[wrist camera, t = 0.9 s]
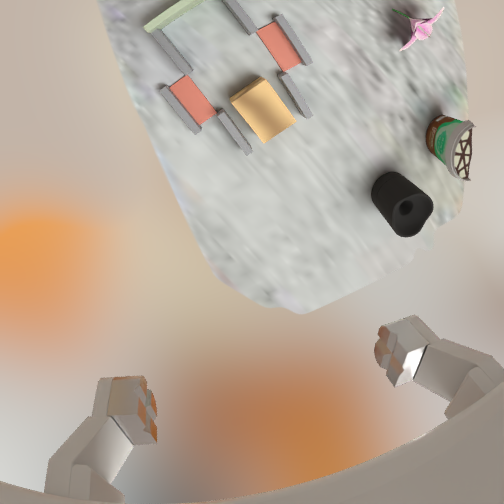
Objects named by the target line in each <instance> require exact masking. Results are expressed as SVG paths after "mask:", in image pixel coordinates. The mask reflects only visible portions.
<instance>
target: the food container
mask: <svg viewBox="0 0 504 504" xmlns="http://www.w3.org/2000/svg"><path fill="white" fill-rule="evenodd" d="M473 127H476V126H474V124H473V123H472V122H471V121H469V120H467V121H464V122H463V121H460V120H457V119H454V118H451V117H448V116H445V115H440V116H438V117H436V118H435V119H434V120H433V121H432V122H431V123H430V125H429V127H428V129H427V132H426V144H427V147H428V149H429V151H430V152H431V153H432V154H434V155H435V156H436V157H437V158H438V159H439V160H440V161H442V162H443V163H444V164H445V165H446V166H447V169H448V171H449V172H450V174H451V175H452V176H454V177H455V178H458V179H460V180H463V181H471V180H470V179H469V178H468V175H469V165H470V160H471V155H472V128H473Z"/></svg>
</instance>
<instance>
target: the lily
mask: <svg viewBox="0 0 504 504" xmlns="http://www.w3.org/2000/svg"><path fill="white" fill-rule="evenodd" d="M392 10H393V11H395V12H398V13H400V14H402V15H404V16H405V17H407V18H408V19H410V21H411V40H410V41H409V42H408V43H407V44H406V45H405V46H404V47H403V48H401V49H400V50H399V51H402V50H404V49H407V48H408V47H409V46H411V45H412V44H413V43H414V42H415V41H416V39H419V40H424V39H426V38H427V37H429V36H430V34H431V33H432V31H433V27H432V26H431V25H432V24H433V23H434V22H435V21H436V20H437V19H438V18H439V17H440V16H441V14H442V12H443V10H444V7H443V8H442V9H441V10H440V11H439V13H438V14H437V15H436V16H435V17H434V18H430V19H411V18H410V17H408V16H406V15H405V14H403V13H401V12H399V11H396V10H394V9H392Z"/></svg>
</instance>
